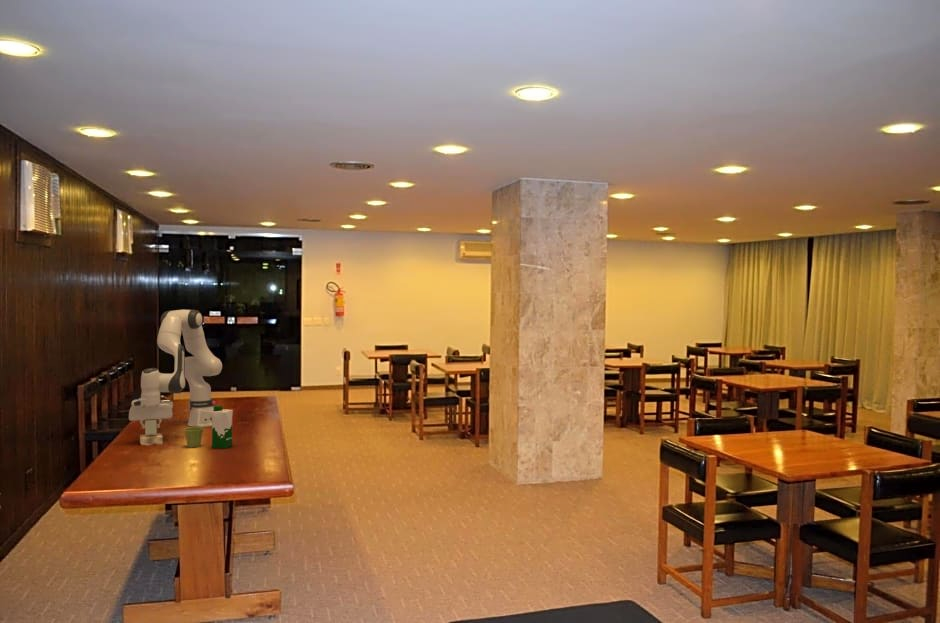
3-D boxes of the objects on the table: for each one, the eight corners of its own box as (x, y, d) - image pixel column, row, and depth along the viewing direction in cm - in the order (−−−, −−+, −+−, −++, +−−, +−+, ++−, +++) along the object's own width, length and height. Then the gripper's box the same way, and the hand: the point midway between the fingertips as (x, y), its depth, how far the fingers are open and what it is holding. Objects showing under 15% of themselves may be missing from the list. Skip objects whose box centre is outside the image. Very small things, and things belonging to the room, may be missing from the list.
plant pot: (179, 447, 348) (179, 429, 348) (194, 443, 357) (194, 426, 356) (192, 449, 344) (192, 431, 344) (208, 445, 352) (208, 428, 352)
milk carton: (218, 444, 354) (218, 404, 353) (235, 445, 352) (235, 405, 351) (209, 448, 345) (208, 407, 345) (225, 449, 343) (225, 408, 343)
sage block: (156, 432, 361) (156, 418, 361) (156, 433, 356) (156, 420, 356) (146, 432, 359) (145, 419, 359) (145, 434, 354) (145, 420, 354)
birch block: (161, 440, 365) (161, 433, 364) (162, 444, 356) (162, 436, 356) (139, 442, 360) (139, 435, 360) (140, 446, 351) (140, 438, 351)
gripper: (173, 398, 364) (173, 425, 364) (129, 401, 356) (129, 428, 357) (172, 400, 358) (173, 427, 359) (128, 403, 351) (128, 430, 351)
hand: (151, 428), depth 358 cm, fingers closed on sage block, 5 cm apart
